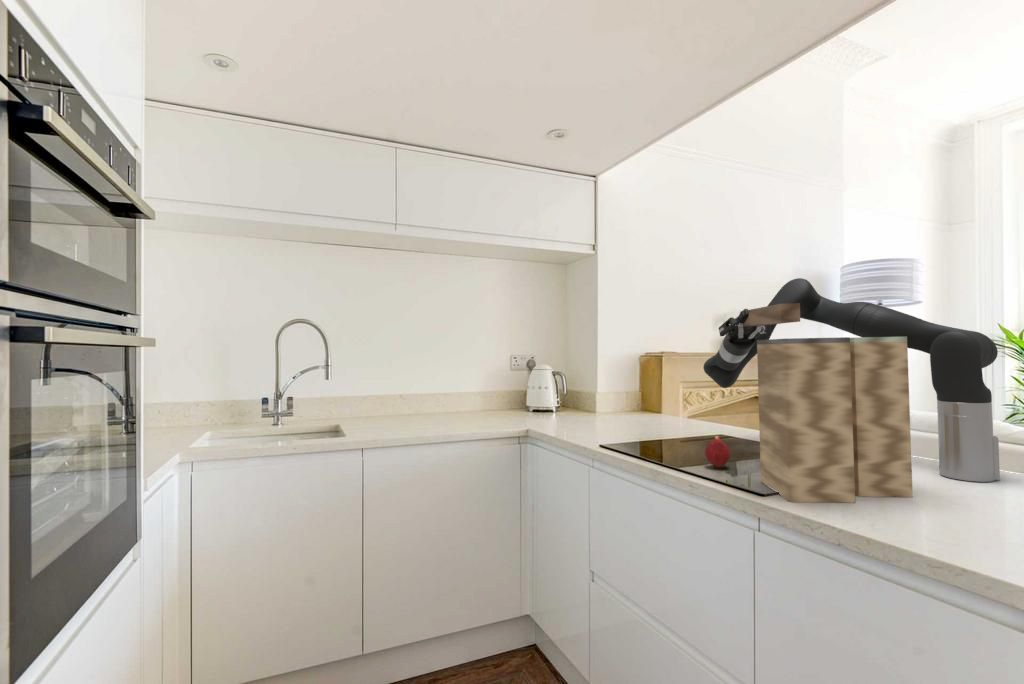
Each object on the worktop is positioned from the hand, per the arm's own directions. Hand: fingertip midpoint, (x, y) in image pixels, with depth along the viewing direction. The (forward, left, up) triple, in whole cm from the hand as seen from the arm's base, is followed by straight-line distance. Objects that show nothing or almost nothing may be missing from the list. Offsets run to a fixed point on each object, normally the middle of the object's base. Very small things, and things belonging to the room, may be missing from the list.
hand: (756, 311), depth 126 cm
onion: (+11, +1, -40) cm, 41 cm away
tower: (-14, +18, -40) cm, 46 cm away
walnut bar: (0, +7, -4) cm, 8 cm away
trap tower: (0, +22, -40) cm, 46 cm away
